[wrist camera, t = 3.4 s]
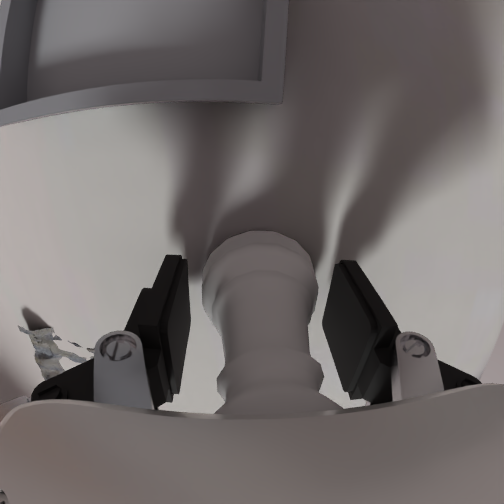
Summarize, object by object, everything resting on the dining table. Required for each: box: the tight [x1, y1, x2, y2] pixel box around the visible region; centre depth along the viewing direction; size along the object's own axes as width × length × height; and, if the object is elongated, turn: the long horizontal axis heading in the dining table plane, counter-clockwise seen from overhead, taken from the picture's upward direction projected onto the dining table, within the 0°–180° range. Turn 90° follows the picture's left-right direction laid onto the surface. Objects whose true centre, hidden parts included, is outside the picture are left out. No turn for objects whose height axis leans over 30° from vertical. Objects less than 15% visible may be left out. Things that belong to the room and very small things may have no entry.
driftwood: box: [18, 326, 95, 380], centre depth 18 cm, size 21×7×2 cm, turn 165°
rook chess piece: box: [202, 231, 343, 415], centre depth 9 cm, size 4×4×8 cm
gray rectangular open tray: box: [0, 0, 289, 127], centre depth 7 cm, size 10×7×2 cm, turn 87°
